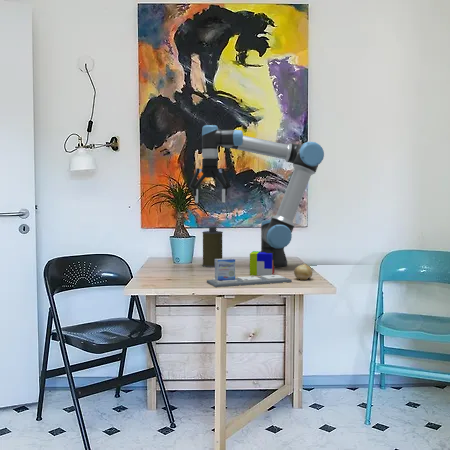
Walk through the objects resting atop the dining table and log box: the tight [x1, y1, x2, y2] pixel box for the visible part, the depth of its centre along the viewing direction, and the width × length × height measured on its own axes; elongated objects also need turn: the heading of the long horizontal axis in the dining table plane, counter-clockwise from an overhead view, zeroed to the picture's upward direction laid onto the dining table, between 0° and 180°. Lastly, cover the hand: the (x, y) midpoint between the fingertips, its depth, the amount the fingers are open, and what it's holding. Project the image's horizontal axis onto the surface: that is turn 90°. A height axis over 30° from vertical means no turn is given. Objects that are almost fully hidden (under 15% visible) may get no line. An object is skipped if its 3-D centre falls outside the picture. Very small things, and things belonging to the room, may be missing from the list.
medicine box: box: [214, 257, 236, 281], centre depth 235 cm, size 8×4×9 cm, turn 106°
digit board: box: [206, 274, 293, 288], centre depth 239 cm, size 34×12×2 cm, turn 109°
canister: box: [201, 226, 223, 268], centre depth 288 cm, size 11×10×20 cm
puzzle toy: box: [249, 250, 275, 277], centre depth 261 cm, size 10×10×10 cm
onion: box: [293, 263, 313, 281], centre depth 246 cm, size 8×8×7 cm
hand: (210, 202), depth 271 cm, fingers open, 13 cm apart
